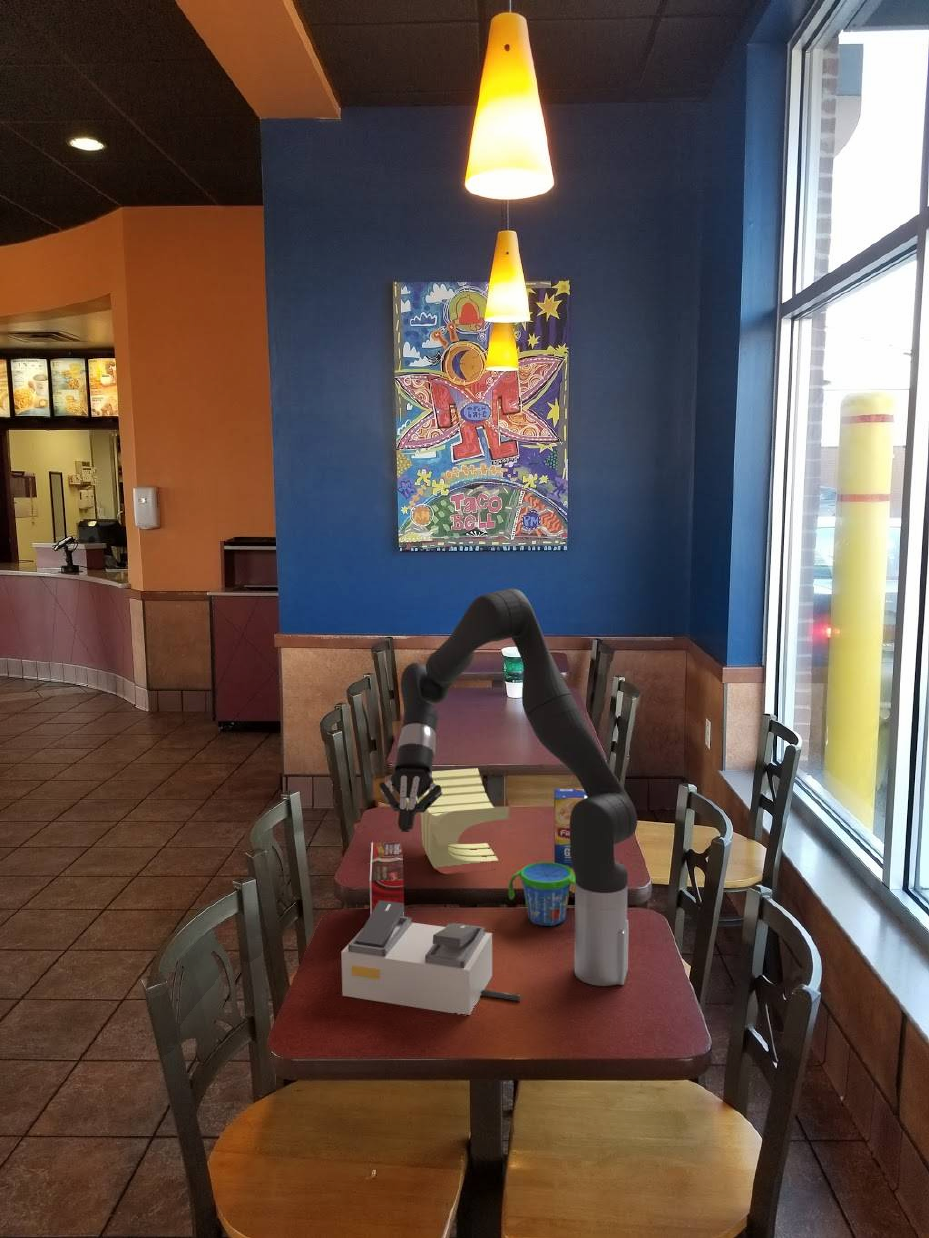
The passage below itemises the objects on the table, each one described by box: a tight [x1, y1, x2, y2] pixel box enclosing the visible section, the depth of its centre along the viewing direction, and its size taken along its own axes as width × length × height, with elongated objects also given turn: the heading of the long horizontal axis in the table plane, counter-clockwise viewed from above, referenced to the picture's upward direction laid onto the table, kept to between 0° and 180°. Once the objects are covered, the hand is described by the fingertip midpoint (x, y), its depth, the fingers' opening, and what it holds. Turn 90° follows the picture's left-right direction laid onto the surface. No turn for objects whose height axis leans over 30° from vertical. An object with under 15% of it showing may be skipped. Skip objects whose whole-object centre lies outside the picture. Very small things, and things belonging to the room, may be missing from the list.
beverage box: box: [553, 788, 587, 893], centre depth 206 cm, size 7×11×22 cm, turn 86°
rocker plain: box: [433, 923, 478, 947], centre depth 166 cm, size 5×11×2 cm, turn 163°
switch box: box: [340, 916, 522, 1016], centre depth 167 cm, size 30×14×9 cm, turn 73°
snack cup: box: [508, 861, 575, 927], centre depth 194 cm, size 16×10×10 cm
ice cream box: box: [369, 841, 405, 917], centre depth 193 cm, size 20×6×13 cm, turn 4°
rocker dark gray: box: [356, 900, 405, 948], centre depth 170 cm, size 5×11×2 cm, turn 163°
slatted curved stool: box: [419, 767, 510, 869], centre depth 224 cm, size 30×16×18 cm, turn 12°
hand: (405, 830), depth 185 cm, fingers closed
